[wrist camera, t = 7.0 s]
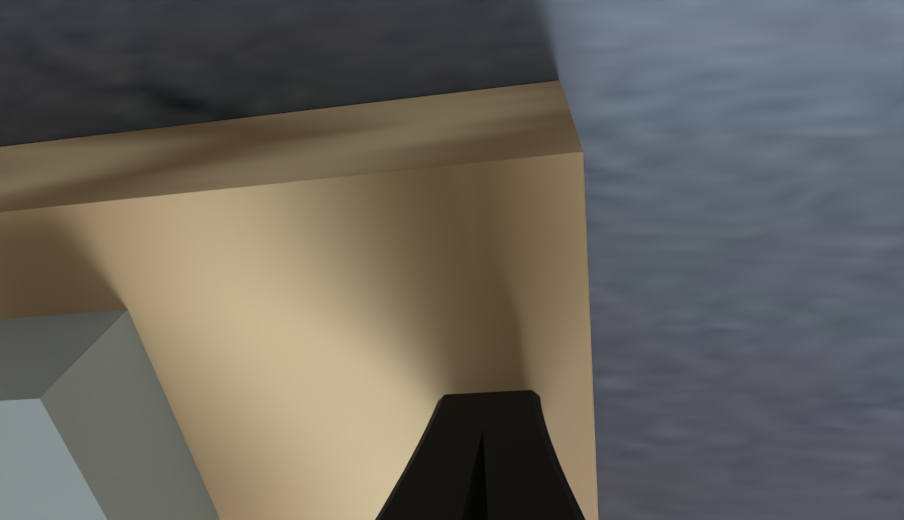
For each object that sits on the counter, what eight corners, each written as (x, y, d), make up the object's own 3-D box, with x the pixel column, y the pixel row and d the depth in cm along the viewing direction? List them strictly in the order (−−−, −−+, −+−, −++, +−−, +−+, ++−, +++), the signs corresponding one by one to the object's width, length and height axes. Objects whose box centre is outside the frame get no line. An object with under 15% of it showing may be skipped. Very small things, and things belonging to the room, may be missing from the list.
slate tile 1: (127, 309, 9) (39, 398, 8) (219, 518, 11) (167, 626, 10) (-134, 330, 10) (-272, 416, 8) (-2, 525, 12) (-90, 628, 10)
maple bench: (559, 80, 11) (583, 151, 8) (586, 562, 17) (606, 726, 14) (-123, 161, 13) (-356, 248, 10) (115, 570, 19) (26, 717, 15)
